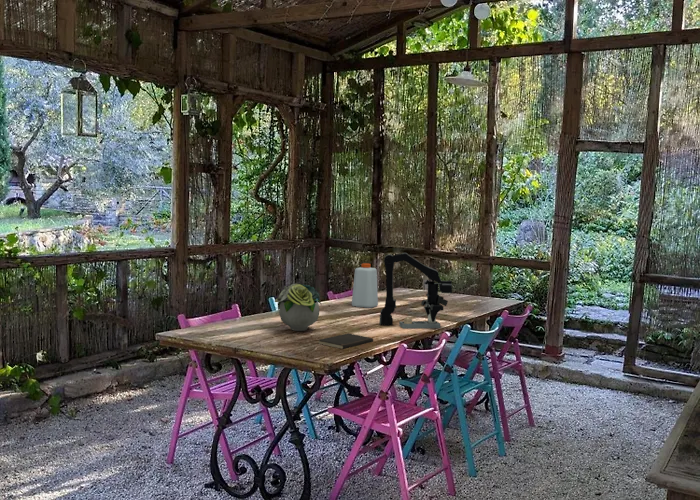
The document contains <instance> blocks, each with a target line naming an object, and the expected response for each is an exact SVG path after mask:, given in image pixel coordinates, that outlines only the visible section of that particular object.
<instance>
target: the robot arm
mask: <svg viewBox="0 0 700 500" xmlns="http://www.w3.org/2000/svg"><path fill="white" fill-rule="evenodd" d="M403 261H404V262H406V263H407V264H409V265H411V266H412V267H414V268H416V269H417V270H419V271H420V272H421V273H423V274H424V275H425V276H426V278H428V279H426V281H424V285H427V293H425V296H426V299H422V301H421V306H422V307H423V308H424V311H425V313H426V315H427V317H428V315H429V314H430V316H431V319H432V322H434V321H435V318H436V319H437V315H438V313H439V312H441V311H444V307H447V305H448V302H449V300H447V299H444V296H441V295H440V294H439V292H440V293H441V294H452V293H453V286H452V285H453V283H452V280H442V279H441V278H440V273H439V271H438V270H437V269H435V268H432V267H430V266H428V265H425V264H424V263H422V262H420V261H419V260H417V259H416V258H414V257H413V256H411V255H410V254H408V253H407V252H402V253H398V254H391V253H390V254H389V253H388V254H387V255H385V256H384V259H383V262H384V263H383V264H384V268H385V276H386V278H385V280H386V281H385V284H386V285H385V286H386V288H385V289H386V297H385V304H384V307H382V309H381V310H380V312H379V313H380V314H379V322H378V323H379V325H380V326H386V327H388V326H393V325H394V320H393V319H394V318H393V315H392V314H393V313H394V312H395V311H396V309H397V304H396V303H397V299H396V298H394V267H395V263H398V262H403Z"/></svg>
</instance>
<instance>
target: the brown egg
mask: <svg viewBox="0 0 700 500" xmlns="http://www.w3.org/2000/svg"><path fill="white" fill-rule="evenodd" d="M403 321H404V324H412V321H413V320H412V317H410V316H406V317H404V319H403Z"/></svg>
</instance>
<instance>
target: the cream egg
mask: <svg viewBox="0 0 700 500" xmlns="http://www.w3.org/2000/svg"><path fill="white" fill-rule="evenodd" d="M436 320H437V317H436V318H435V321H434V322H432V319H431V316H430V314H429V315H428V316H427V321H428V323H436Z"/></svg>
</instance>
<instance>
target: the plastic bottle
mask: <svg viewBox="0 0 700 500" xmlns="http://www.w3.org/2000/svg"><path fill="white" fill-rule="evenodd" d="M377 271H378V270H377V268H375V267H371V263H364V262H363V263H361V267H356V268H355V269H354V274H353V275H354V277H353V287H352V296H351V306H352V307H354V306H356V307H355V308H362V307H364V308H363V309H372V308H375V307H378V305H379V293H378V272H377Z"/></svg>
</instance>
